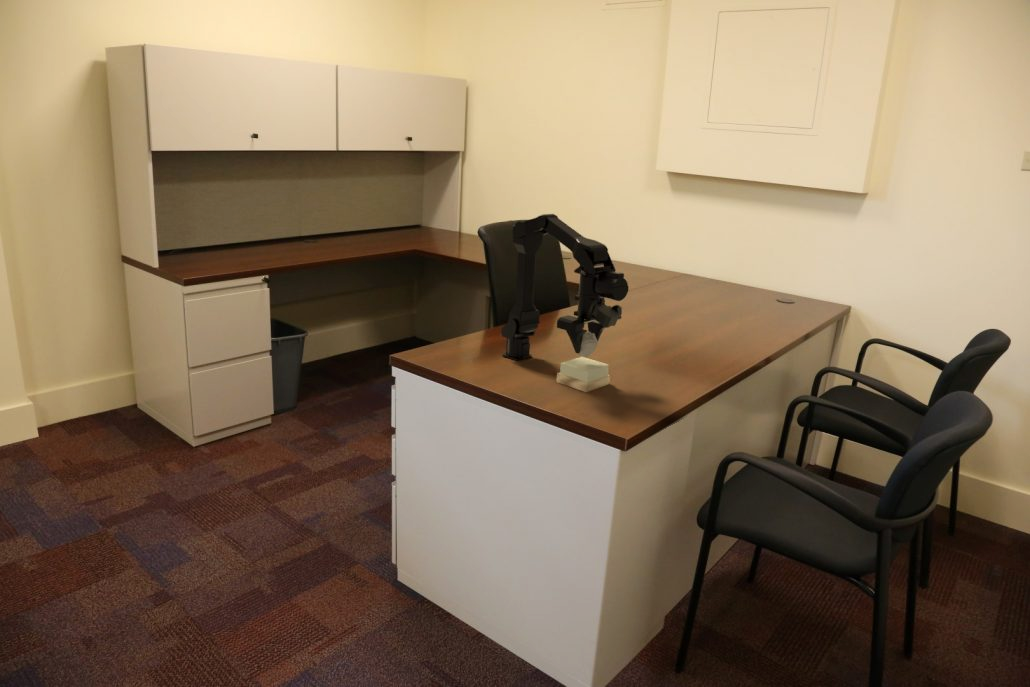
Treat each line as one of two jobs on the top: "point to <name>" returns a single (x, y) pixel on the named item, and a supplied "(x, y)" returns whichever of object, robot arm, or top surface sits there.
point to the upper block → (584, 369)
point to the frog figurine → (588, 344)
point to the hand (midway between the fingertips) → (585, 350)
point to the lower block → (583, 385)
